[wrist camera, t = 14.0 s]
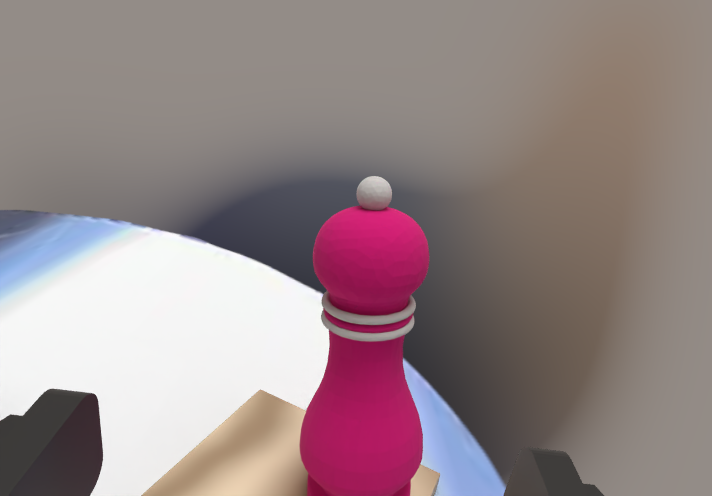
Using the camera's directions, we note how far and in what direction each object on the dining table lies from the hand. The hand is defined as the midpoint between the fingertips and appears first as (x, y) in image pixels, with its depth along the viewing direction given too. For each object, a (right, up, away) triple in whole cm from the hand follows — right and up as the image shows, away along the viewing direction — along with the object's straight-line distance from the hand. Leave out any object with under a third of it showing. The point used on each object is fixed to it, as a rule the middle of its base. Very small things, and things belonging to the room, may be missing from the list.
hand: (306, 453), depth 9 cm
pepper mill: (+1, -12, +21) cm, 24 cm away
